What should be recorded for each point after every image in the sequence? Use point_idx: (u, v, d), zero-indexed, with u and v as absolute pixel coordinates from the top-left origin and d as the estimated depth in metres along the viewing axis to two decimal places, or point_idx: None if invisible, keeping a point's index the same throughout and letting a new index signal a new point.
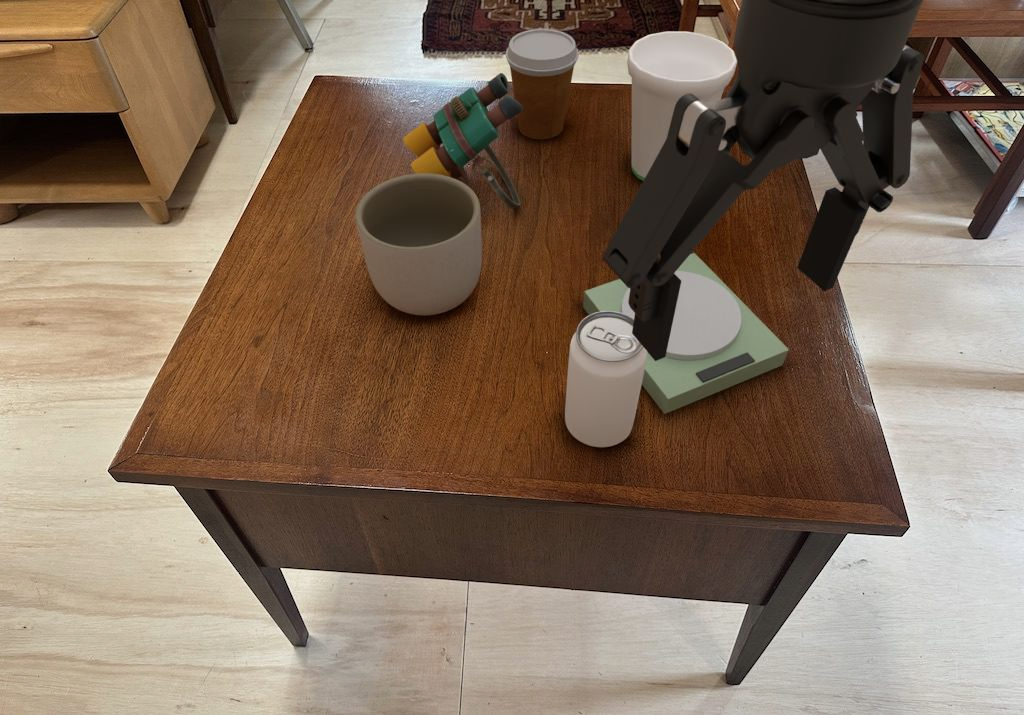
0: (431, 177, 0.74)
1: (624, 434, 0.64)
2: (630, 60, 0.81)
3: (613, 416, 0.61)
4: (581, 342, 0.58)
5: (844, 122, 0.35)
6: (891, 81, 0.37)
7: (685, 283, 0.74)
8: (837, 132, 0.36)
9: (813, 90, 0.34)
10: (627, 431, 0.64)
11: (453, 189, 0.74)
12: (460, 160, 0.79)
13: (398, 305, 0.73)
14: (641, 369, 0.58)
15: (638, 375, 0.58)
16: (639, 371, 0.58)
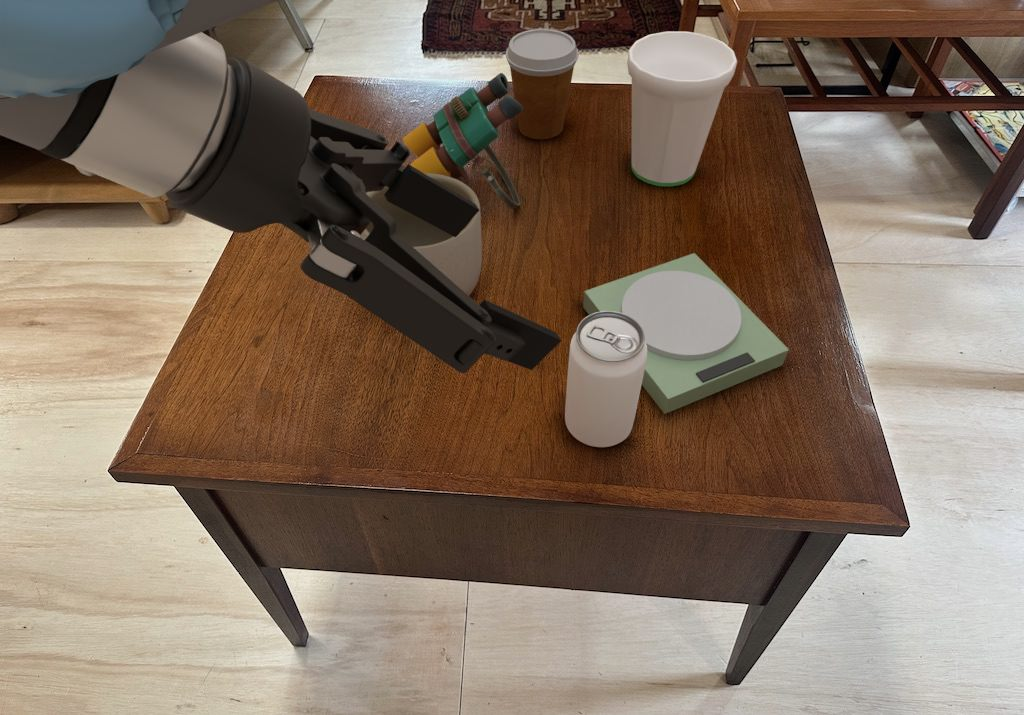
0: (431, 177, 0.74)
1: (624, 434, 0.64)
2: (630, 60, 0.81)
3: (613, 416, 0.61)
4: (581, 342, 0.58)
5: (335, 146, 0.37)
6: None
7: (685, 283, 0.74)
8: (344, 154, 0.38)
9: (305, 163, 0.35)
10: (627, 431, 0.64)
11: (453, 189, 0.74)
12: (460, 160, 0.79)
13: None
14: (641, 369, 0.58)
15: (638, 375, 0.58)
16: (639, 371, 0.58)
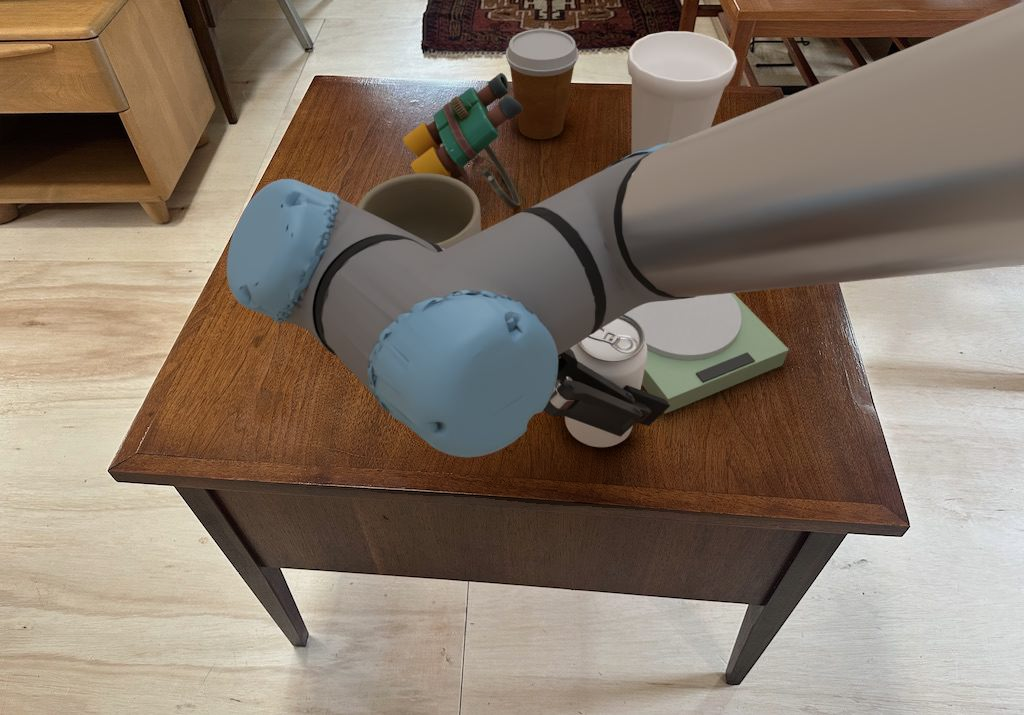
0: (431, 177, 0.74)
1: (624, 434, 0.64)
2: (630, 60, 0.81)
3: None
4: (581, 342, 0.58)
5: None
6: None
7: None
8: None
9: None
10: (627, 431, 0.64)
11: (453, 189, 0.74)
12: (460, 160, 0.79)
13: None
14: (641, 369, 0.58)
15: (638, 375, 0.58)
16: (639, 371, 0.58)
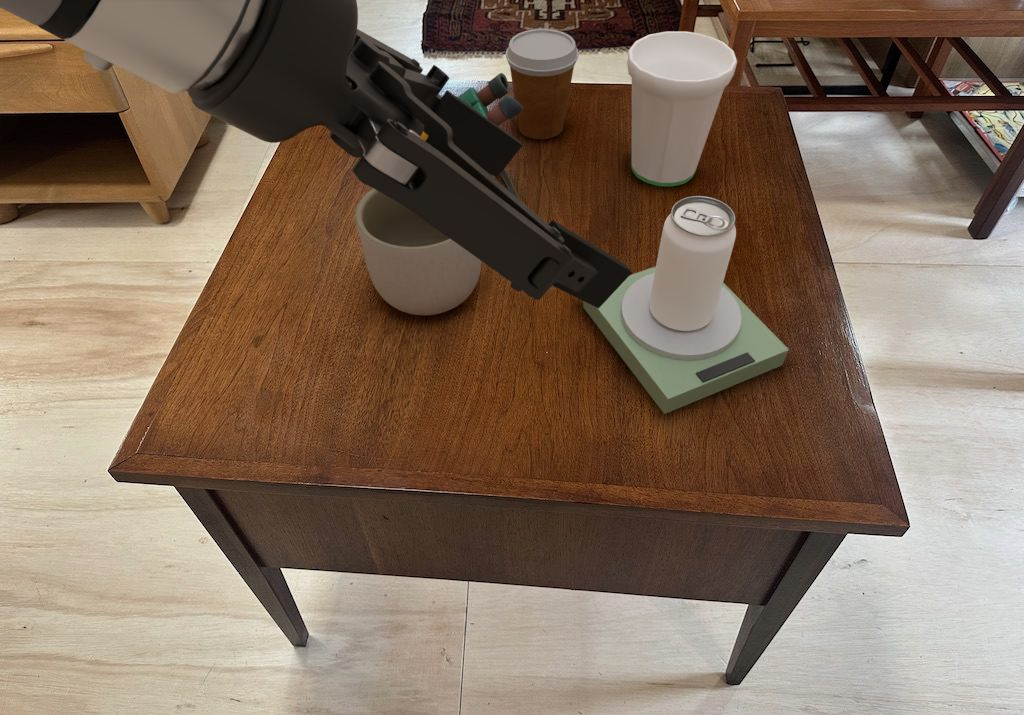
0: None
1: (707, 318, 0.69)
2: (630, 60, 0.81)
3: (701, 296, 0.66)
4: (676, 221, 0.62)
5: (378, 49, 0.33)
6: None
7: None
8: (387, 59, 0.33)
9: (348, 62, 0.30)
10: (710, 315, 0.69)
11: None
12: None
13: (398, 305, 0.73)
14: (731, 247, 0.63)
15: (728, 253, 0.63)
16: (729, 249, 0.63)
